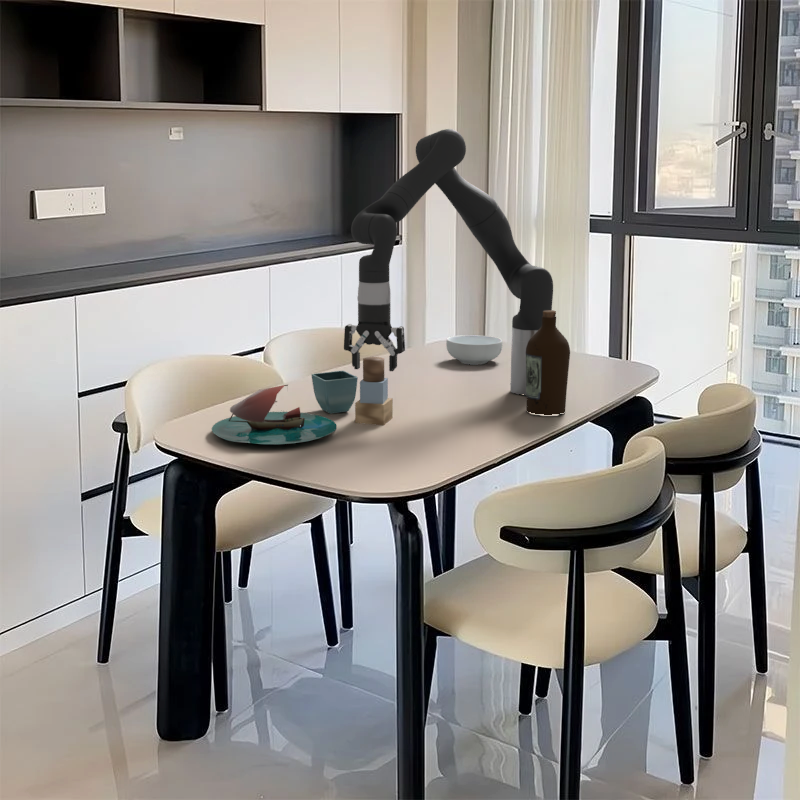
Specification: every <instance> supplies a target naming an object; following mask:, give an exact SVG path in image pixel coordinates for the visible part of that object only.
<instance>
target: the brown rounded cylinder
mask: <svg viewBox="0 0 800 800" xmlns="http://www.w3.org/2000/svg"><path fill="white" fill-rule="evenodd" d="M384 378H385V358H384V357H379V356H367V357H364V358H363V359H362V379H363V381H366V382H382V381H384Z"/></svg>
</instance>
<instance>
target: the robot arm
mask: <svg viewBox="0 0 800 800" xmlns="http://www.w3.org/2000/svg"><path fill="white" fill-rule="evenodd" d="M466 151H467V145H466V141H465V139H464V137H463V135H462V134H461V133H460V132H458V131H457V130H456V129H453V128H447V129H446V128H445V129H441V130H439V131H436V132H434V133H431V134H429V135H426V136H423V137H422V138H420V139H419V140H418V141H417V143H416V145H415V157H416V159H417V162H418V164H416V165H415V166H414V167H413V168H411V169H410V170H408V171H407V172H406V173H405V174H403V175H402V176H400V178H398V179H397V180H396V181H395V182H394V183H393V184H392V185H391V186H390V187H389V188H388V189H387V190H386V192H385V193H384V194H383V195H382V196H381V197H380V198H379V199H378V200H376V201H374V202H372V203H371V204H370V205H368V206H366V207H365V208H363V209H361V211H359V212H358V213H357V215H356V216H355V217H354V219H353V220H352V223H351V226H350V227H351V228H350V232H351V233H350V234H351V236H352V238H353V239H354V241H356V242H357V243H358V244H362V245H370V246H371V245H373V248H372V251H371V254H367V255H363V256H362V257H360V259H359V262H358V287H357V322H358V323H357V325H353V324H352V323H348V324H347V325H345V326H344V334H343V335H344V336H343V337H344V338H343V350H344V351H348V352H350V353H351V366H352V367H353V368H354V370H360V367H361V352H360V350H361V348H362V347H363V346H365V344H366V345H369V346H370V345H375V346H380V345H382V346H383V348H384V349H386V350H387V352H388V354H389V357H388V360H389V361H388V368H389V369H388V371H389V372H394V371H395V369H397V367H398V355H399V354H403V352H405V351H406V342H405V341H406V339H405V338H406V337H405V328H404V326H399V327H392V324H391V285H390V263H391V260H392V259H391V258H392V255H393V251H394V249H395V248H394V247H395V245H396V240H397V236H398V235H397V234H398V227H397V224H396V223H399V222H401V221H402V220H404V218H406V216H408V214H409V212H411V210H412V209H413V208H414V207H415V206H416V204H417V203H418V202H419V201H420V200H421V199H422V197H423V196H424V195H426V193H427V192H428V191H429V190H430V189H432V187H433V186H435V185H436V186H437V187H438V189H439V190H440V191H441V192H442V194H444V196H445V197H446V198H447V200H449V202H450V204H451V205H452V206H453V208H454V209H455V210H456V211H457V213H458V214H459V216H460V217H461V219H462V220H463V222H464V223H465V225H466V227H467V228H468V229H469V231H470V232H471V234H472V235H473V236H474V238H475V239H476V240H477V242H478V243H479V244H480V246H481V247H482V248H483V250H484V252H485V253H486V254H487V255H488V256H489V258H490V259H491V260H492V261H493V263H494V264H495V266H496V269H498V271H499V273H500V275H501V277H502V278H503V280H504V282H505V284H506V286H507V288H508V290H509V291H510V293H511V294H512V295H513V296H514V297H515V298H516V299H519V311H518V312H517V314H515V315H513V317H512V321H511V324H512V325H511V354H510V355H511V358H510V384H509V385H510V390H509V391H510V393H512V394H514V393H516V394H515V395H519V394H524V395H523V396H526V347H527V344H528V341H529V339H530V338H531V337H532V336H533V335H534V334H535V333H536V332H537V331H538V330H539V329H540V328H541V326H542V316H543V311H544V310H552V309H553V296H554V280H553V276H552V275H551V274H552V273H550V272H549V270H547V269H546V268H543V267H541V266H536V265H532V263H530V262H529V261H528V260H527V258H526V257H525V256H524V255H523V254H522V252H521V251H520V249H519V248H518V247H517V245H516V243H515V240H514V236H513V233H512V229H511V225H510V223H509V220H508V219H507V216H506V215H505V214H504V212H503V211H502V209H501V208H500V206H499V205H498V203H497V202H496V200H495V199H494V198H493V197H492V196H491V195H490V194H488V193H487V192H485V191H483V190H482V189H481V188H479V187H478V186H476V185H474V184H472V183H471V182H469V181H468V180H466V179H465V178H464V177H463V176H462V175H461V174H460V173H459V172H458V171H457V169H456V167H457V166H458V165H459V164H461V163H462V162H463V160H464V158H465V156H466ZM356 332H357V334H358V335H359V338H358V340H357V341H356V343H355V344H354V345H353V335H354V334H355V333H356ZM392 333H393V336H394V337H396V346H395V345H394V342H393V340H392V339H391V338H390V336H391V334H392Z"/></svg>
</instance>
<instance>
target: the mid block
mask: <svg viewBox="0 0 800 800" xmlns="http://www.w3.org/2000/svg"><path fill="white" fill-rule="evenodd" d="M388 382H389V378H388V377H384V381H382V382H366V381H363V378H362V379H361V380H360V381H359V400H360V403H374V404H383V403H384V402H385V401H386V400H387V399H388V398H389V396H388V395H389V394H388V392H389V389H388V388H389V386H388V385H389V383H388Z"/></svg>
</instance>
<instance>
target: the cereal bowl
mask: <svg viewBox="0 0 800 800" xmlns="http://www.w3.org/2000/svg"><path fill="white" fill-rule="evenodd" d="M445 347H446V351H447V353H448V354H449V355H450V356H451V358H453V359H455V360H458V361H459V362H460V363H461V364H464V365H469V364H470V365H471V366H479V365H478V364H480V365H485V364H488V362H489V361H492V360H495V359H497V358H498V357H499V356H500V354H501V352H502V350H503V339H501V338H500V337H496V336H492V335H491V336H489V335H479V334H478V335H475V334H474V335H473V334H463V335H452V336H448V337H447V338H446V346H445ZM470 365H469V366H470Z"/></svg>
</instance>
